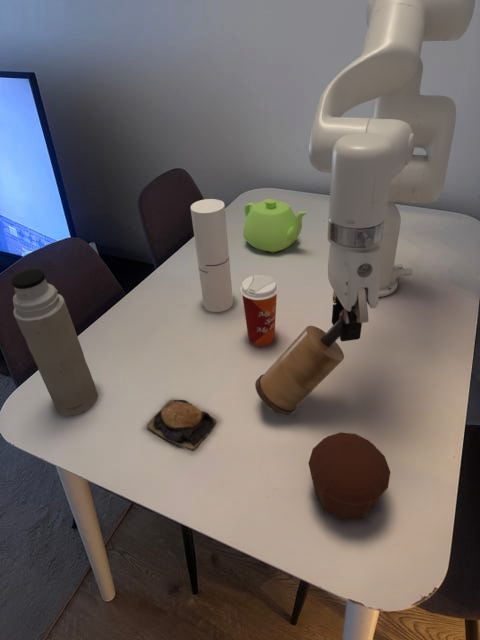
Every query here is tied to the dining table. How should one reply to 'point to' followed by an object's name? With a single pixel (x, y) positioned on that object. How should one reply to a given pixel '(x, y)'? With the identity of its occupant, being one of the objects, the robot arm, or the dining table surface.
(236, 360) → the dining table surface
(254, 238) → the teapot
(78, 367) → the thermos bottle
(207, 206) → the cylindrical container
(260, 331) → the paper cup
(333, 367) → the paper towel holder
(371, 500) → the muffin
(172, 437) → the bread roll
